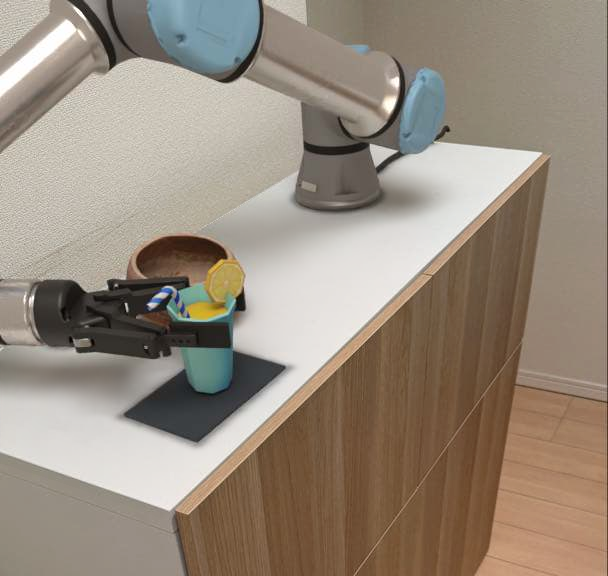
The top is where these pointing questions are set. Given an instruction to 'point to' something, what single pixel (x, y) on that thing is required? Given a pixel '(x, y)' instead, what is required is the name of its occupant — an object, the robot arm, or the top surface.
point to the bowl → (176, 262)
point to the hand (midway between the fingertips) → (237, 316)
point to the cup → (207, 308)
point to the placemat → (203, 399)
